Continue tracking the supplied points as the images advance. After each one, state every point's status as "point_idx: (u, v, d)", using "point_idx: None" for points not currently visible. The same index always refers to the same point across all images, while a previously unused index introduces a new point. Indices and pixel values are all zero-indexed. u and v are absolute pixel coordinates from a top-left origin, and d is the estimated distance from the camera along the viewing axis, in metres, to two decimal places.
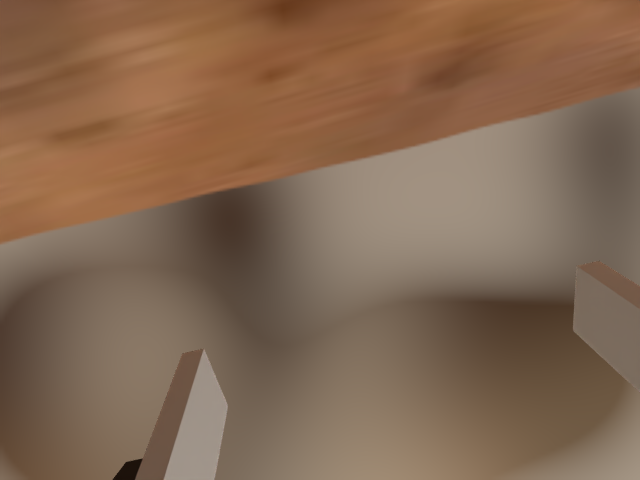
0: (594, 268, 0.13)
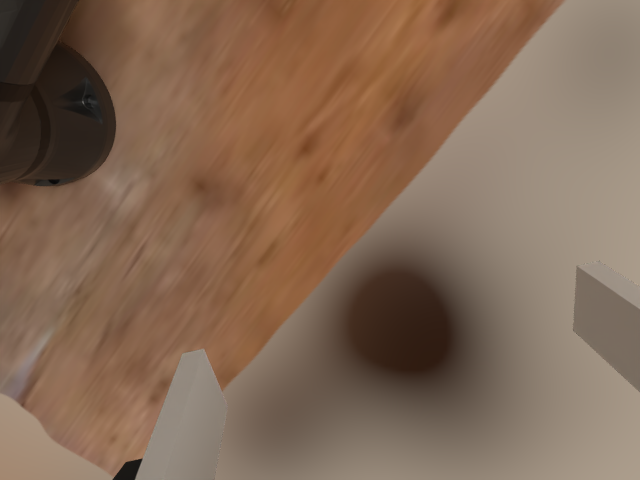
0: (594, 268, 0.13)
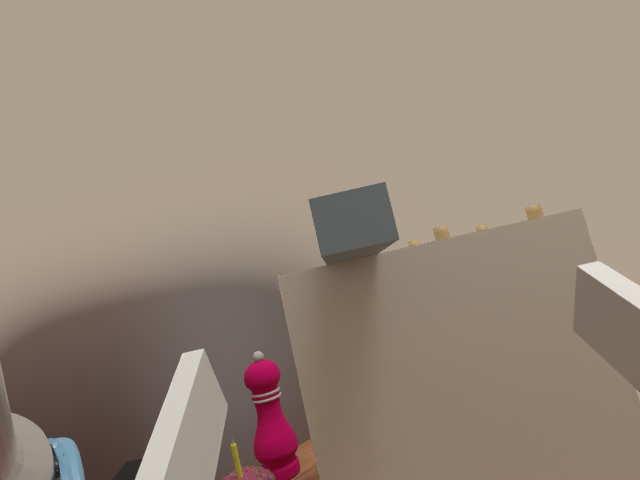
0: (594, 268, 0.13)
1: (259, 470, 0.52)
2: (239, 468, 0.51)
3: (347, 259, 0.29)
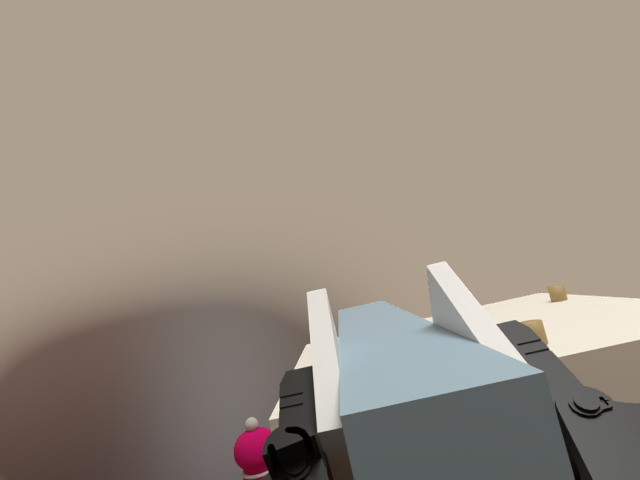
0: (438, 267, 0.15)
1: None
2: None
3: None
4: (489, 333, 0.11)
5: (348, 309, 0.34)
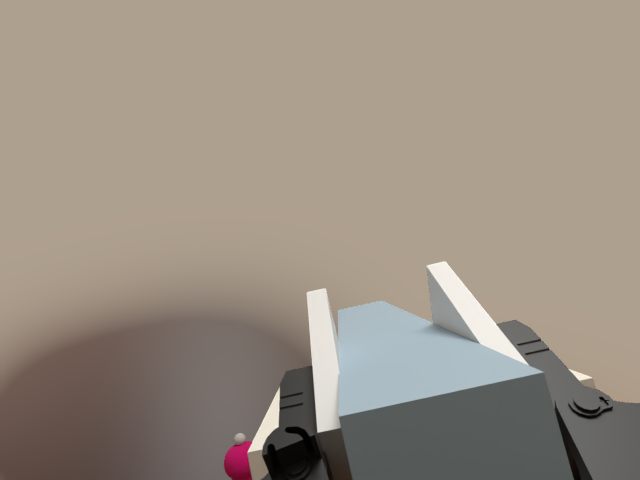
0: (438, 267, 0.15)
1: None
2: None
3: None
4: (489, 333, 0.11)
5: (348, 309, 0.34)
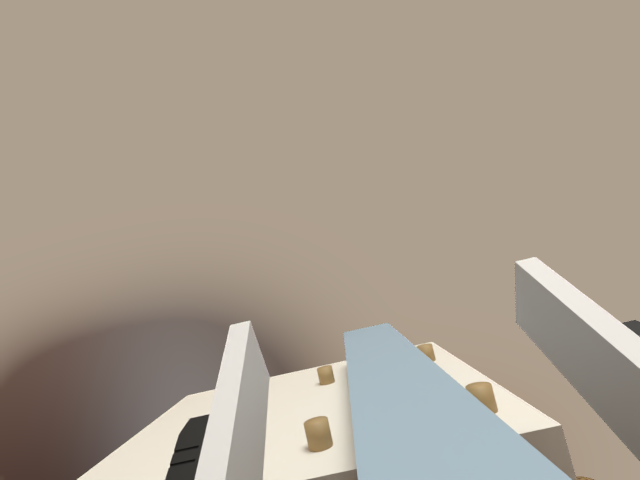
0: (530, 263, 0.14)
1: None
2: None
3: None
4: (620, 335, 0.10)
5: (354, 332, 0.34)
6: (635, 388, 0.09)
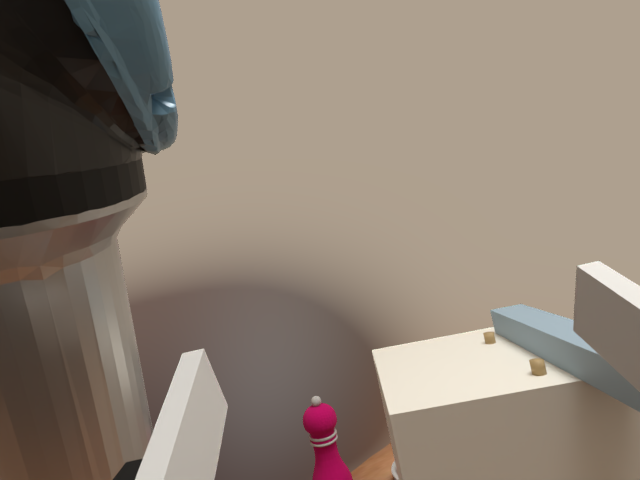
0: (594, 268, 0.13)
1: None
2: None
3: None
4: None
5: (502, 310, 0.50)
6: None
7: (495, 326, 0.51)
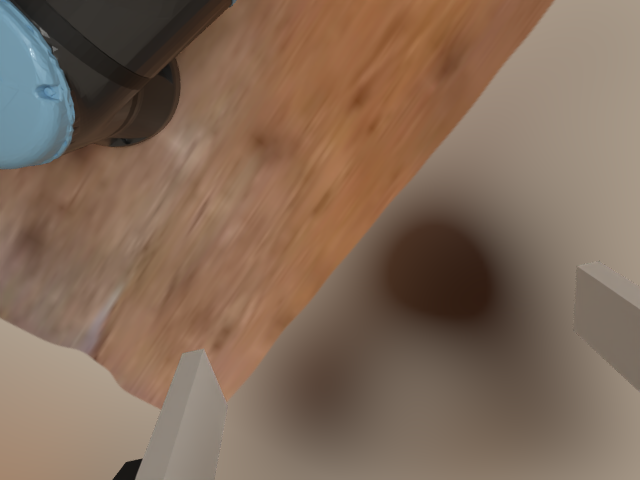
0: (594, 268, 0.13)
1: None
2: None
3: None
4: None
5: None
6: None
7: None
